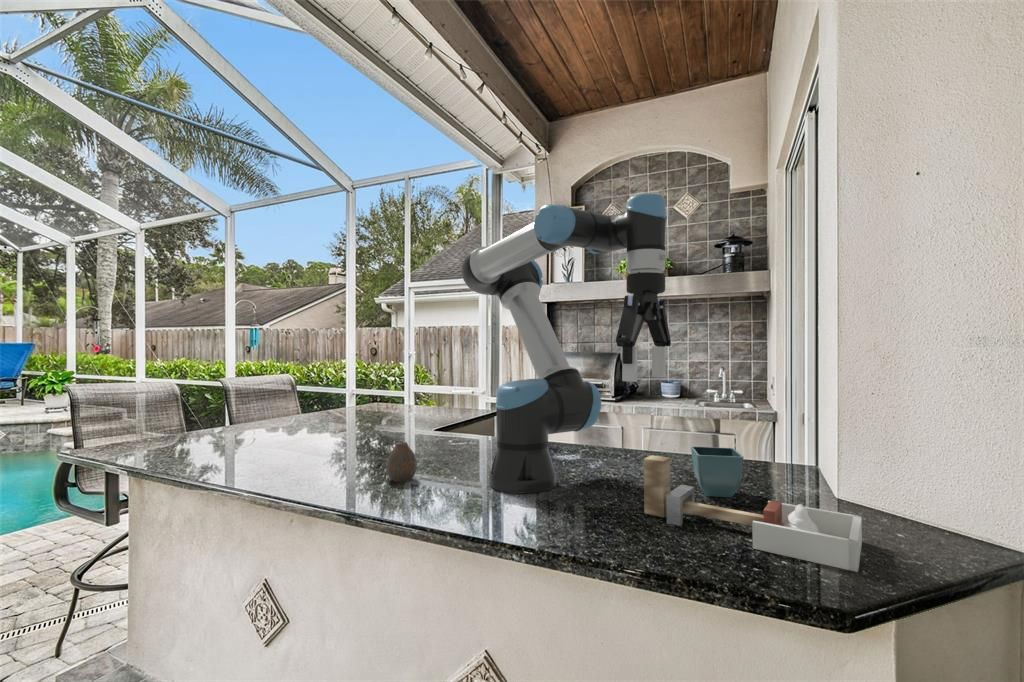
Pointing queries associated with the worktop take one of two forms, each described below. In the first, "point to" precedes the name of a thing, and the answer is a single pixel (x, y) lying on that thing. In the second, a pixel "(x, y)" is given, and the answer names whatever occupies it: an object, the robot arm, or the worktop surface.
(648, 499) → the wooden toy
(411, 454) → the brown egg shape
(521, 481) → the robot arm
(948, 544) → the worktop surface
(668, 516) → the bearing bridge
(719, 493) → the flower pot
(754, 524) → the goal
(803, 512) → the whipped cream swirl
